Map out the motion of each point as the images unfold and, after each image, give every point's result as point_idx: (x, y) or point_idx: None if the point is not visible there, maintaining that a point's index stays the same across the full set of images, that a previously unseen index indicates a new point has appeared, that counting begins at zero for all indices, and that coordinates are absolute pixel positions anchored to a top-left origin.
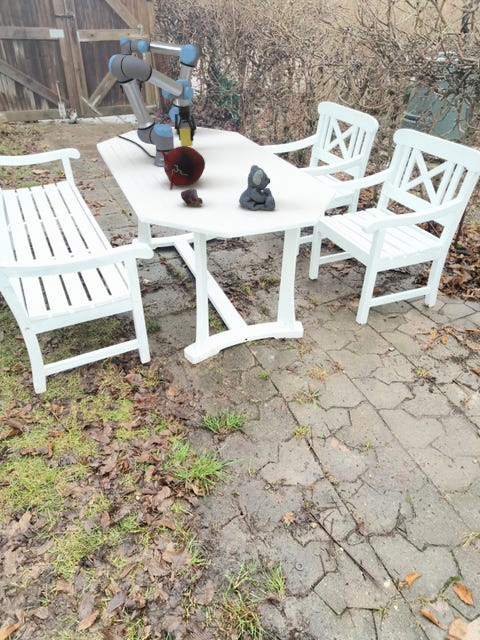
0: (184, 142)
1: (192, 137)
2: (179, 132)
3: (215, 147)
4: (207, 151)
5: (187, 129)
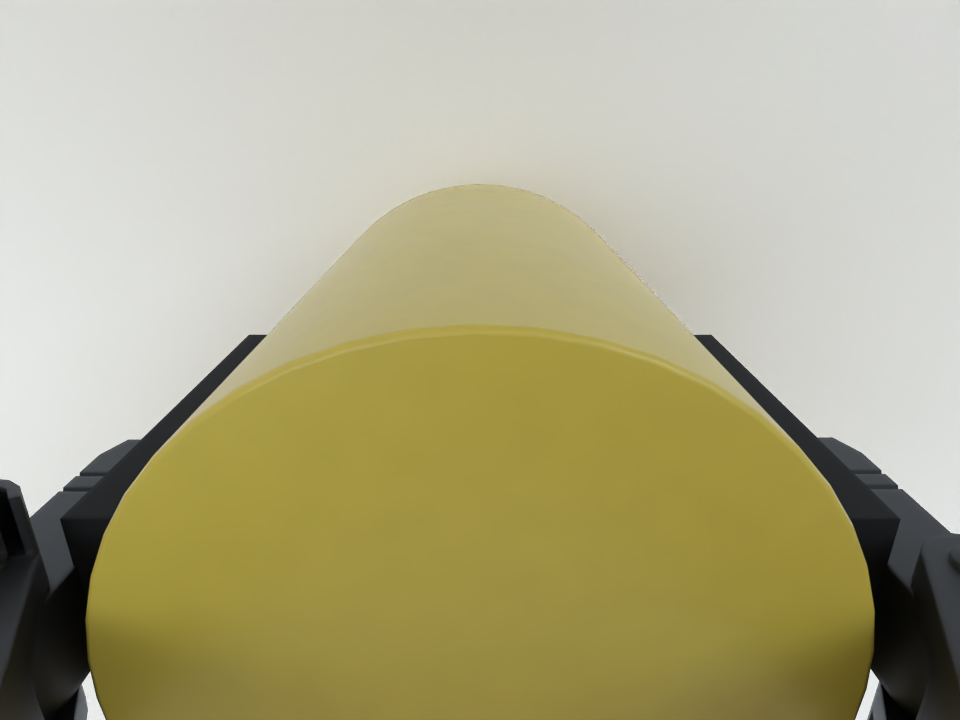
0: (466, 198)
1: None
2: None
3: None
4: (61, 377)
5: (252, 564)
